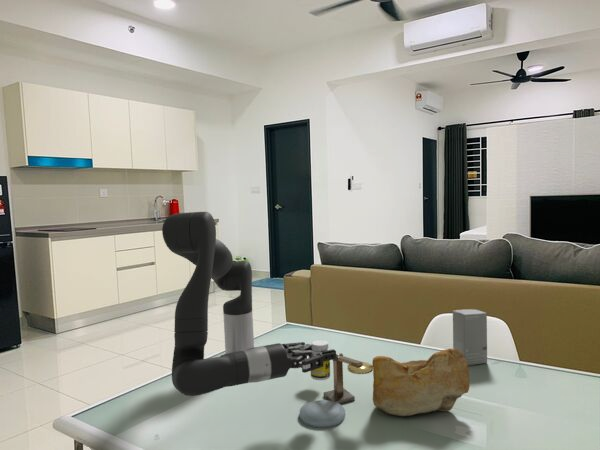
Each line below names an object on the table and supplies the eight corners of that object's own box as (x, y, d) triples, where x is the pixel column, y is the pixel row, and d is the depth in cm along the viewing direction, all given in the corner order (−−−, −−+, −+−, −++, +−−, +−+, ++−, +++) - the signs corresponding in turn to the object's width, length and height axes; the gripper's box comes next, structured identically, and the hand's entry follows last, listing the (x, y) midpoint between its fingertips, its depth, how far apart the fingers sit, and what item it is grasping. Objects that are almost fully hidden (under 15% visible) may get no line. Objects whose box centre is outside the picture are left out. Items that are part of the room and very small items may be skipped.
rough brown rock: (457, 392, 118) (453, 336, 119) (476, 418, 102) (471, 354, 102) (370, 395, 120) (366, 340, 121) (374, 421, 104) (370, 357, 104)
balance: (305, 380, 127) (304, 335, 126) (324, 376, 130) (322, 332, 129) (357, 425, 102) (355, 369, 101) (379, 419, 104) (377, 364, 103)
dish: (292, 411, 110) (292, 405, 110) (331, 401, 114) (331, 396, 114) (312, 432, 100) (311, 426, 100) (353, 420, 104) (353, 414, 104)
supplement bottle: (328, 381, 103) (328, 346, 103) (309, 380, 104) (308, 345, 104) (331, 373, 108) (330, 339, 107) (312, 372, 109) (311, 339, 108)
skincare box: (464, 366, 133) (464, 315, 132) (451, 358, 140) (450, 309, 139) (489, 363, 135) (488, 312, 134) (474, 355, 142) (474, 307, 141)
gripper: (274, 356, 93) (344, 343, 100) (253, 338, 106) (316, 327, 113) (275, 391, 94) (345, 376, 101) (254, 368, 107) (317, 356, 114)
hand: (329, 350), depth 107 cm, fingers closed on supplement bottle, 4 cm apart
